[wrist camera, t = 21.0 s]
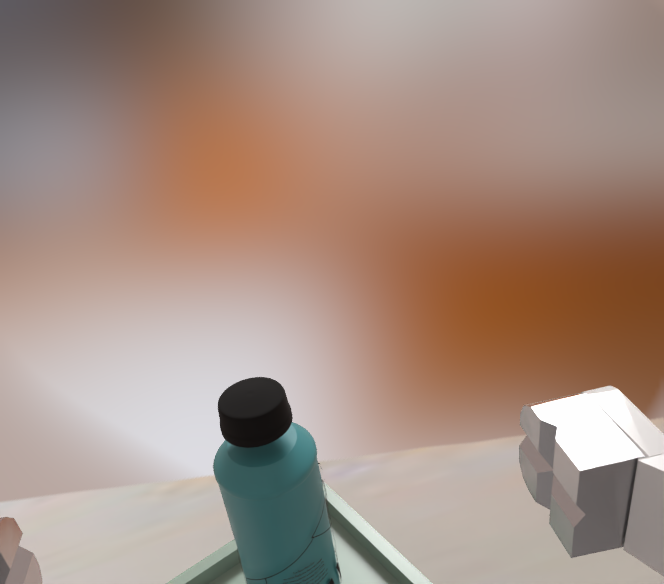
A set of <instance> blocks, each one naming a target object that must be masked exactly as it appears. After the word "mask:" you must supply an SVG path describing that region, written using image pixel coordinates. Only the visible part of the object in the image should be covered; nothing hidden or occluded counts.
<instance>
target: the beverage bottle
mask: <svg viewBox="0 0 664 584" xmlns="http://www.w3.org/2000/svg"><path fill="white" fill-rule="evenodd" d="M218 412H219V417H220V428H221V431H222V435H223V437H224V438H225V441H224V443H223V444H222V445H221V446H220V448H219V449H218V451H217V453H216V456H215V459H214V465H213V468H214V474H215V478H216V480H217V482H218V484H219V487H220V490H221V494H222V497H223V501H224V504H225V507H226V511H227V514H228V518H229V521H230V524H231V528H232V531H233V535H234V538H235V541H236V545H237V552H239V555H240V559H241V563H240V564H242V567H243V570H242V571H244V573H243V574H244V575H245V577H244V578H246V580H245V581H246V582H247V584H340V579H341V578H342V577H341V572H340V567H339V562H337V563H336V557H337V556H338V555H336V554H337V553H336V554H335V552H336V549H335V548H336V547H335V548H334V546H333V541H332V534H331V532H332V531H331V530H333V529H332V528H331V524H332V521H331V524H330V523H329V518H330V516H329V517H328V512H329V511H328V512H327V506H328V505H327V503H328V502H327V496H326V495H327V493H326V495H325V496H324V491H323V484H324V482H323V480H322V479H321V475H320V471H319V466H318V464H320V463H318V461H317V449H316V445H315V441H314V439H313V437H312V436H311V434H310V433H309V432H308V431H307V430H306V429H305V428H303V427H301V426H300V425H298V424H296V423H293V422H292V412H291V408H290V405H289V403H288V400H287V397H286V393H285V390H284V388H283V387H282V386H281V384H280V383H278V382H277V381H275V380H273V379H270V378H265V377H255V378H249V379H245V380H242V381H239V382H237V383H235V384H233V385H232V386H230V387H229V388H227V389H226V390H225V391H224V392H223V394H222V395H221V396H220V398H219V401H218ZM321 469H322V468H321ZM324 487H325V485H324ZM325 492H326V488H325ZM325 499H326V502H325ZM330 519H331V518H330ZM330 528H331V529H330ZM333 533H334V532H333ZM333 536H334V535H333ZM333 539H334V540H335V538H333ZM335 546H336V545H335ZM334 549H335V551H334ZM335 555H336V557H335ZM238 557H239V556H238ZM239 561H240V560H239ZM337 561H338V558H337ZM338 571H339V574H340V576H339V574H338ZM339 577H340V579H339Z"/></svg>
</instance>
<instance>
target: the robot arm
mask: <svg viewBox="0 0 664 584" xmlns="http://www.w3.org/2000/svg"><path fill="white" fill-rule="evenodd" d="M520 425H521V427H522V429H523V430H524V431H525V433H526V434H527V436H526V437H525V439H524V440H523V441H522V443H521V444H520V445H519V462H520V466H521V471H522V475H523V478H524V481H525V483H526V485H527V488H528V490H529V492H530V493H531V495H532V496H533V498H534V500H535V501H536V502H537V503H539V504H541V505H542V506H544V507H546V508H548V509H550V522H549V524H550V525H551V527H552V529H553V530H554V532H555V533H556V535H557V536H558V538H559V540H560V541H561V543H562V544H563V546H564V547H565V549H566V551H567V552H568V554H569V555H570V557H571V558H573V557H578V556H582V555H587V554H592V553H596V552H601V551H606V550H611V549H615V548H620V547H624V549H623V550H625V551H626V552H628V553H629V554H631V555H632V556H634V557H635V558H637V559H638V560H640V561H641V562H643V563H644V564H646V565H647V566H649V567H650V568H652V569H653V570H655V571H656V572H658V573H659V574H661V575H662V576H664V434H663V433H662V432H661V431H660V430H659V429H658V428H657V427H656V426H655V425H654V424H653V423H652V422H651V421H650V420H649V419H648V418H647V417H646V416H645V415H644V414H643V413H642V412H641V411H640V410H639V409H638V408H637V407H636V406H635V405H634V404H633V403H631V401H629V400H628V399H627V398H626V397H625V396H624V395H623V394H622V393H621V392H620V391H619V390H618V389H617V388H614V387H612V386H607V387H602V388H598V389H593V390H589V391H585V392H582V393H580V394H573V395H569V396H565V397H560V398H555V399H551V400H547V401H542V402H538V403H533V404H529V405H524V406H523V408H522V411H521V415H520ZM22 534H23V533H22V531H21V529H20V528H19V526H18V524H17V523H16V521H15V519H14V518H9V517H3V518H0V584H42V576H41V571H40V567H39V564H38V562H37V560H36V558H35V556H34V554H33V553H32V552H30V551H28V550H26V549H24V548H22V547H20V546H19V543H20V540H21V537H22Z"/></svg>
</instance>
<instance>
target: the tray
mask: <svg viewBox="0 0 664 584" xmlns="http://www.w3.org/2000/svg"><path fill="white" fill-rule="evenodd" d="M324 485H325V487H324ZM325 488H326V492H325ZM323 491H324V496H325V495H326V493H327V495H326V496H327V502H328V503H327V505H328V506H327V512H328V511H329V512H328V517H329V516H330V518H331V519H330V518H329V523H330V524H331V521H332V524H331V528H332V529H333V530H331V531H332V532H331V534H332V541H333V546H334V548H335V547H336V548H335V549H336V552H335V554H336V553H337V554H336V555H338V556H337V557H336V555H335V557H336V563H337V562H339V567H340V572H341V577H342V578H341V579H340V577H339V579H340V584H432V583H431V582H430V581H429V580H428V579H427V578H426V577H425V576H424V575H423V574H422V573H421V572H420V571H419V570H418V569H416V568H415V567H414V566H413V565H412V564H411V563H410V562H409V561H408V560H407V559H406V558H405V557H404V556H403V555H401V554H400V553H399V552H398V551H397V550H396V549H395V548H394V547H393V546H392V545H391V544H390V543H389V542H388V541H386V540H385V539H384V538H383V537H382V536H381V535H380V534H379V533H378V532H377V531H376V530H375V529H374V528H373V527H372V526H370V525H369V524H368V523H367V522H366V521H365V520H364V519H363V518H362V517H361V516H360V515H359V514H358V513H357V512H355V511H354V510H353V509H352V508H351V507H350V506H349V505H348V504H347V503H346V502H345V501H344V500H343V499H342V498H341V497H339V496H338V495H337V494H336V493H335V492H334V491H333V490H332V489H331V488H330V487H329V486H328V485H327V484H326V483H324V484H323ZM325 502H326V499H325ZM331 528H330V529H331ZM333 532H334V533H333ZM333 535H334V536H333ZM333 538H335V540H334V539H333ZM335 545H336V546H335ZM335 549H334V551H335ZM238 556H239V557H238ZM337 558H338V561H337ZM239 560H240V561H239ZM240 563H241V559H240V555H239V552H237V545H236V541H235V539H234V540H232V541H231V542H229V543H228V544H226V545H225V546H223V547H221V548H220V549H218V550H217V551H215V552H214V553H212V554H211V555H209V556H208V557H206V558H205V559H203V560H201V561H200V562H198V563H197V564H195V565H194V566H192V567H191V568H189V569H188V570H186V571H185V572H183V573H181V574H180V575H178V576H177V577H175V578H174V579H172V580H171V581H169V582H168V583H166V584H247V582H246V581H245V580H246V578H244V577H245V575H244V574H243V573H244V571H242V570H243V567H242V564H240ZM338 574H339V571H338ZM339 576H340V574H339Z"/></svg>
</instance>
